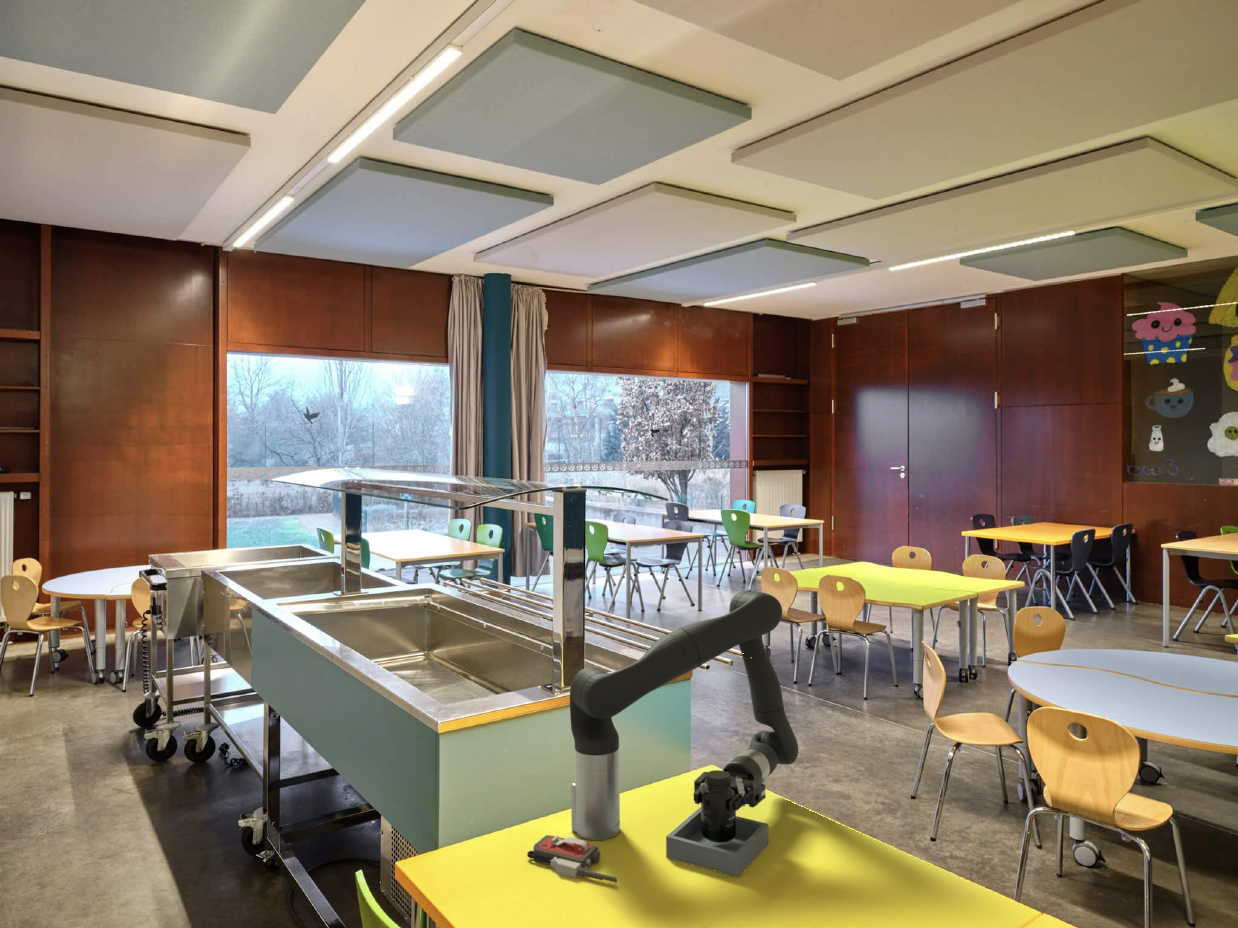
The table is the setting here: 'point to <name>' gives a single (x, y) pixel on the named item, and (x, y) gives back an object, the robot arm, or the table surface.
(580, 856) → the walkie-talkie
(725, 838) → the supplement bottle
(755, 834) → the tray
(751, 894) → the table surface
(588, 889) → the table surface
